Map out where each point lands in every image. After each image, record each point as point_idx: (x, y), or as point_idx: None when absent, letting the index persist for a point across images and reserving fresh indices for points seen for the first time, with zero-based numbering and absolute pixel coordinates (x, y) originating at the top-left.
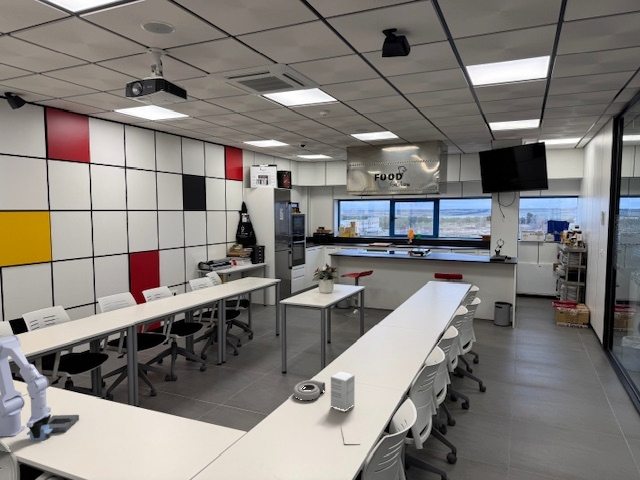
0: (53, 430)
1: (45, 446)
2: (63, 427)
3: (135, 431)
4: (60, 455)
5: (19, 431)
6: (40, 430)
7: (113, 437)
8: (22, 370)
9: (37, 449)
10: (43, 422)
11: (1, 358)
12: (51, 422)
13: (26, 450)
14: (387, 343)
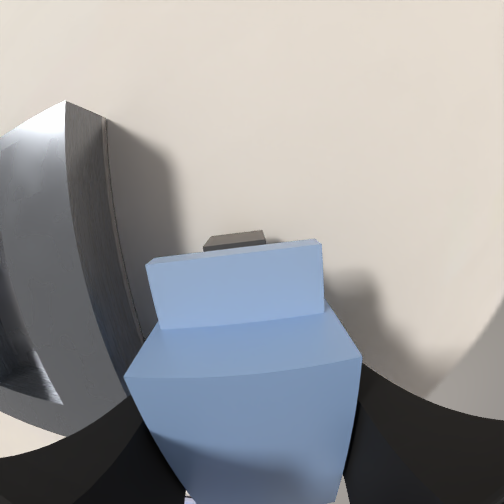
0: (109, 281)
1: (431, 158)
2: (66, 131)
3: None
4: (475, 3)
5: (193, 501)
6: (349, 397)
7: None
8: None
9: (471, 210)
10: (150, 491)
11: None
12: (28, 385)
13: (470, 303)
14: None
